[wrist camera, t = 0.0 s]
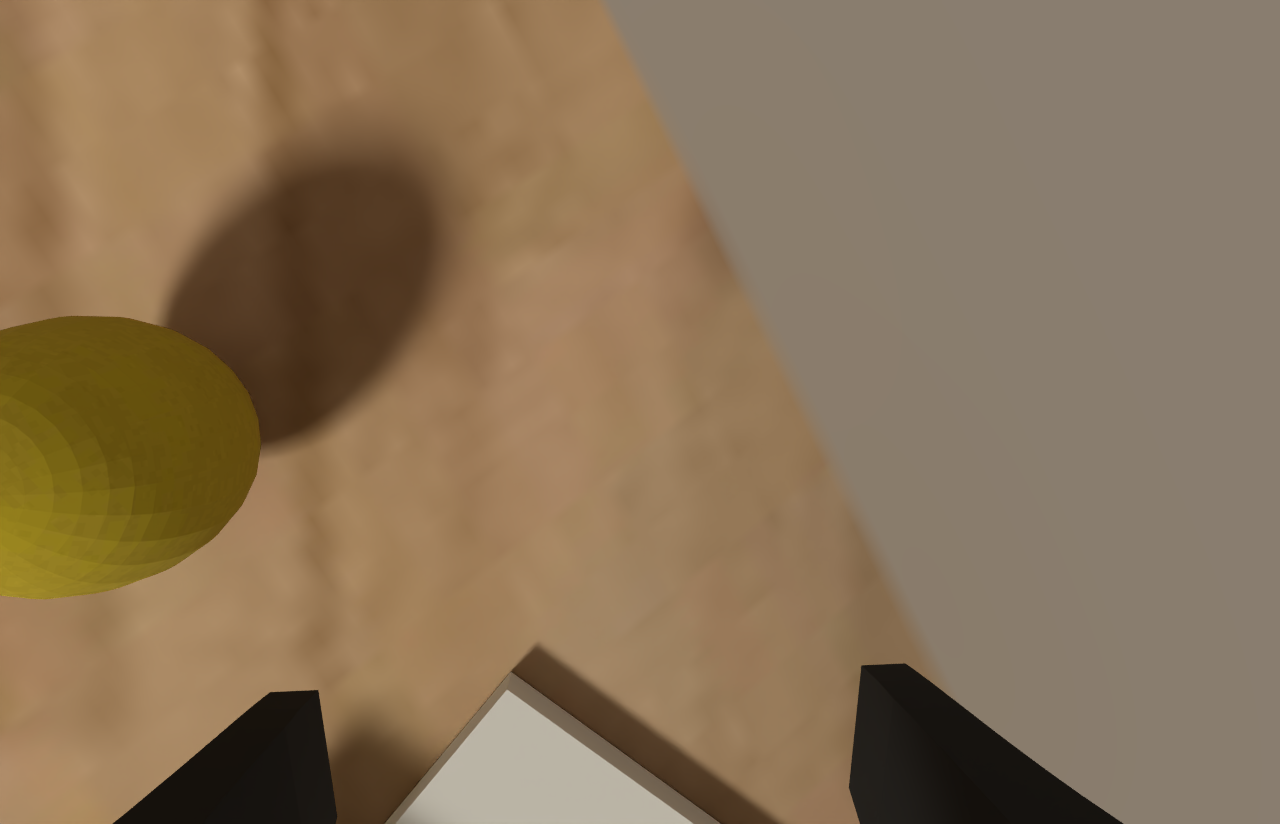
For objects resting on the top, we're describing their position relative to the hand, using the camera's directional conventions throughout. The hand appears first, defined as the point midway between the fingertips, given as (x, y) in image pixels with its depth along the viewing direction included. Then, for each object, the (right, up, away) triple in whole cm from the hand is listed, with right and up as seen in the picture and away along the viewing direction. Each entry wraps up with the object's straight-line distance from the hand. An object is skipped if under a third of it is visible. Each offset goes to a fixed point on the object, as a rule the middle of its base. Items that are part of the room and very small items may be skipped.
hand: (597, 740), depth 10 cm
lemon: (-11, +4, +10) cm, 15 cm away
